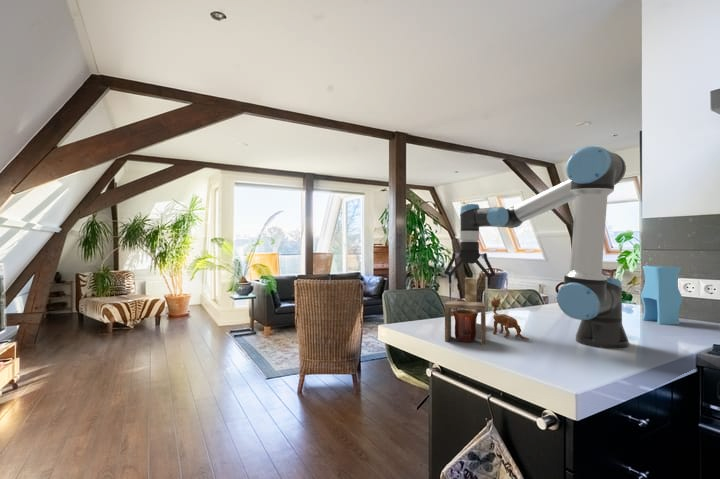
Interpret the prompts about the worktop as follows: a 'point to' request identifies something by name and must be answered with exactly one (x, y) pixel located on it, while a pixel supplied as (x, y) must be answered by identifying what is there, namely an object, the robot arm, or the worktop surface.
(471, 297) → the wooden stepped block
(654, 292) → the blue arched block
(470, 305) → the brown wooden frame
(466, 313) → the mug
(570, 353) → the worktop surface
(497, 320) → the orange brown animal figurine
